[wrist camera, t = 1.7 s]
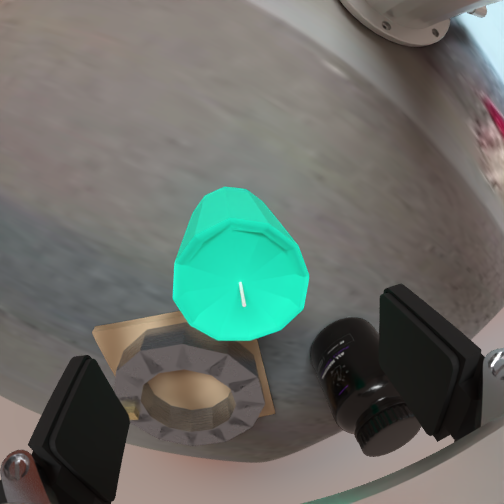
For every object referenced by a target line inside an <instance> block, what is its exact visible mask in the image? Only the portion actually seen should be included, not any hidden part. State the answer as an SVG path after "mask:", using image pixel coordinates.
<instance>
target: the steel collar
mask: <svg viewBox="0 0 504 504" xmlns="http://www.w3.org/2000/svg"><path fill="white" fill-rule="evenodd" d="M183 369H185V370H189V371H194V372H198V373H203V374H208V375H212V376H213V377H214V378H216V379H217V380H219V381H220V382H221V383H223V384H224V385H226V386H227V387H229V388H230V389H231V391H230V393H229V395H228V397H227V398H225V399H224V400H222V401H221V402H219V403H218V404H216V405H214V406H213V407H208V408H202V409H195V410H190V409H185V408H180V407H176V406H171V405H170V404H168V403H167V402H165V401H163V400H162V399H160V398H159V397H157V396H156V395H155V394H154V393H153V391H152V389H151V388H150V386H149V384H148V381H149V380H151V379H152V378H153V377H155V376H156V375H157V374H158V373H164V372H170V371H177V370H183ZM114 392H115V394H116V396H117V397H118V399H119V400H120V402H121V404H122V405H123V407H124V408H125V410H126V411H127V413H128V415H129V418H130V422H131V423H132V424H134V425H135V426H137V427H139V428H140V429H142V430H144V431H145V432H147V433H149V434H151V435H152V436H154V437H156V438H158V439H160V440H165V441H170V442H175V443H180V444H185V445H191V446H196V445H205V444H213V443H220V442H226V441H228V440H230V439H232V438H234V437H236V436H237V435H239V434H241V433H243V432H245V431H246V430H248V429H250V428H252V427H253V425H254V423H255V422H256V420H257V418H258V416H259V414H260V413H261V411H262V409H263V407H264V405H265V400H264V395H263V390H262V385H261V381H260V377H259V373H258V369H257V366H256V362H255V358H254V355H253V354H252V353H251V352H250V351H248V350H247V349H246V348H245V347H243V346H242V345H241V344H240V343H239V342H237V341H218V340H216V339H214V338H212V337H210V336H208V335H207V334H205V333H203V332H201V331H199V330H197V329H196V328H194V327H192V326H190V325H189V324H188V323H186V322H185V323H179V324H174V325H169V326H163V327H158V328H153V329H147V330H146V331H145V332H144V333H143V334H141V335H140V336H139V337H138V338H137V339H136V340H135V341H134V342H133V343H132V344H130V345H129V346H128V347H127V348H126V349H125V350H124V351H123V354H122V357H121V359H120V362H119V364H118V367H117V370H116V377H115V390H114Z"/></svg>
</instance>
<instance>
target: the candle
mask: <svg viewBox="0 0 504 504" xmlns="http://www.w3.org/2000/svg"><path fill="white" fill-rule="evenodd" d="M308 282H309V273H308V270H307V268H306V265H305V262H304V259H303V257H302V254H301V251H300V249H299V246H298V244H297V243H296V242H295V241H294V239H293V238H292V237H291V236H290V234H289V233H288V232H287V231H286V229H285V228H284V227H283V226H282V224H281V223H280V222H279V221H278V219H277V218H276V217H275V216H274V215H273V213H272V212H271V211H270V210H269V208H268V207H267V206H266V205H265V204H264V202H263V201H262V200H260V199H259V198H258V197H256V196H255V195H253V194H252V193H251V192H249V191H248V190H247V189H242V188H232V187H223V188H220V189H218V190H216V191H214V192H212V193H209V194H207V195H205V196H204V197H203V199H202V200H201V202H200V203H199V204H198V206H197V207H196V209H195V210H194V212H193V213H192V216H191V219H190V221H189V224H188V227H187V229H186V232H185V235H184V238H183V240H182V243H181V246H180V249H179V252H178V254H177V257H176V260H175V264H174V282H173V300H174V302H175V303H176V305H177V306H178V308H179V310H180V311H181V313H182V314H183V316H184V317H185V319H186V320H187V322H188V324H189V325H190V326H192V327H194V328H196V329H197V330H199V331H201V332H203V333H205V334H207V335H208V336H210V337H212V338H214V339H216V340H218V341H251V340H254V339H257V338H260V337H263V336H266V335H269V334H271V333H274V332H277V331H280V330H282V329H283V328H284V327H285V326H286V325H287V324H288V323H289V322H290V321H291V320H292V319H294V318H295V317H296V316H297V315H298V314H299V313H300V312H301V311H302V310H303V309H304V305H305V299H306V293H307V288H308Z"/></svg>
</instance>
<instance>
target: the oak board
mask: <svg viewBox="0 0 504 504" xmlns="http://www.w3.org/2000/svg"><path fill="white" fill-rule="evenodd" d="M185 322H186V323H188V322H187V320H186V319H185V317H184V316H183V314H182V313H181V311H177V312H172V313H167V314H162V315H156V316H151V317H146V318H140V319H135V320H130V321H124V322H118V323H113V324H107V325H101V326H95V328H94V330H93V331H92V334H93V336H94V338H95V340H96V342H97V344H98V346H99V347H100V349H101V351H102V353H103V355H104V357H105V359H106V361H107V362H108V364H109V366H110V368H111V370H112V371H113V373H114V375H115V377H116V370H117V367H118V364H119V362H120V359H121V357H122V354H123V351H124V350H125V349H126V348H127V347H128V346H129V345H130V344H132V343H133V342H134V341H135V340H136V339H137V338H138V337H139V336H140V335H141V334H143V333H144V332H145V331H146V330H147V329H153V328H158V327H163V326H169V325H174V324H179V323H185ZM237 342H239V343H240V344H241V345H242V346H243V347H245V348H246V349H247V350H248V351H250V352H251V353H252V354H253V355H254V358H255V362H256V366H257V369H258V373H259V377H260V381H261V385H262V390H263V395H264V400H265V405H264V407H263V409H262V411H261V413H260V414H259V416H258V417H262V416H266V415H271V414H275V410H274V406H273V402H272V398H271V394H270V390H269V386H268V381H267V377H266V373H265V369H264V365H263V361H262V357H261V353H260V349H259V345H258V341H257V339H254V340H251V341H237ZM148 384H149V386H150V388H151V389H152V391H153V393H154V394H155V395H156V396H157V397H159V398H160V399H162V400H163V401H165V402H167V403H168V404H170V405H171V406H176V407H180V408H185V409H190V410H195V409H202V408H208V407H213V406H214V405H216V404H218V403H219V402H221V401H222V400H224V399H225V398H227V397H228V395H229V393H230V391H231V389H230V388H229V387H227V386H226V385H224V384H223V383H221V382H220V381H219V380H217V379H216V378H214V377H213V376H212V375H208V374H203V373H198V372H194V371H189V370H185V369H183V370H177V371H170V372H164V373H158V374H157V375H156V376H155V377H153V378H152V379H151V380H149V381H148Z"/></svg>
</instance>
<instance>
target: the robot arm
mask: <svg viewBox="0 0 504 504" xmlns="http://www.w3.org/2000/svg"><path fill="white" fill-rule="evenodd" d="M340 1H341V3H342V4H343V5H344V6H345V7H346V9H347V10H348V11H349V12H350V13H351V14H352V15H353V16H354V17H355V18H356V19H358V20H359V21H360V22H361V23H362V24H363V25H365V26H366V27H367V28H369V29H370V30H372V31H373V32H375V33H376V34H378V35H380V36H382V37H384V38H386V39H387V40H390V41H392V42H395V43H398V44H400V45H405V46H410V47H423V46H427V45H430V44H433V43H435V42H438V41H439V40H440V39H442V38H443V37H444V36H445V34H446V33H447V31H448V29H449V25H450V18H452V17H455V16H457V15H460V14H463V13H466V12H467V13H469V14H472V15H475V16H477V17H480V18H483V17H485V15H486V13H487V9H486V5H489V4H493V3H496V2H499V1H503V0H340ZM378 360H379V365H380V367H381V369H382V370H383V372H384V373H385V375H386V376H387V377H388V379H389V380H390V382H391V383H392V384H393V386H394V387H395V389H396V390H397V391H398V393H399V394H400V396H401V397H402V399H403V400H404V401H405V403H406V404H407V406H408V407H409V409H410V410H411V412H412V413H413V414H414V416H415V417H416V419H417V420H418V422H419V423H420V425H421V426H422V428H423V429H424V430H425V432H426V433H427V434H428V435H429V436H432V435H433V436H434V437H435V439H436V440H437V442H438V441H440V440H441V439H443V438H445V437H447V436H449V435H451V436H452V437H453V439H455V441H454V443H453V444H451V445H449V446H447V447H445V448H443V449H441V450H440V451H438V452H436V453H434V454H432V455H430V456H428V457H426V458H424V459H422V460H420V461H418V462H416V463H414V464H411V465H409V466H407V467H405V468H403V469H401V470H399V471H396V472H394V473H392V474H389V475H387V476H385V477H382V478H380V479H377V480H375V481H372V482H369V483H367V484H364V485H361V486H359V487H356V488H353V489H350V490H347V491H344V492H341V493H338V494H335V495H332V496H328V497H325V498H321V499H317V500H314V501H310V502H306V503H303V504H504V348H502V349H496V350H493V351H491V352H490V353H488V354H487V355H486V357H484V356H483V355H482V354H481V349H480V348H479V347H478V346H476V345H475V344H474V343H473V342H472V341H471V340H470V339H468V338H467V337H466V336H465V335H464V334H463V333H462V332H460V331H459V330H458V329H457V328H456V327H454V326H453V325H452V324H451V323H450V322H449V321H447V320H446V319H445V318H444V317H443V316H441V315H440V314H439V313H438V312H437V311H435V310H434V309H433V308H432V307H430V306H429V305H428V304H427V303H426V302H424V301H423V300H422V299H421V298H419V297H418V296H417V295H416V294H414V293H413V292H412V291H411V290H409V289H408V288H407V287H405V286H404V285H403V284H398V285H395V286H392V287H389V288H386V289H385V290H384V294H382V295H381V296H380V326H379V355H378ZM129 424H130V418H129V415H128V413H127V411H126V410H125V408H124V407H123V405H122V404H121V402H120V400H119V399H118V397H117V396H116V394H115V392H114V391H113V389H112V387H111V386H110V384H109V382H108V381H107V379H106V377H105V375H104V374H103V372H102V370H101V368H100V367H99V365H98V363H97V361H96V360H95V359H92V358H91V357H90V356H88V355H84V356H76V357H73V358H72V359H71V360H70V362H69V364H68V366H67V368H66V369H65V371H64V373H63V375H62V377H61V379H60V380H59V382H58V384H57V386H56V388H55V390H54V392H53V394H52V396H51V398H50V399H49V401H48V403H47V405H46V407H45V409H44V411H43V413H42V416H41V418H40V420H39V422H38V424H37V426H36V428H35V430H34V432H33V435H32V437H31V439H30V441H29V443H28V445H29V447H30V448H31V449H32V450H33V453H32V455H31V454H30V453H29V452H28V451H25V450H16V451H14V452H12V453H10V454H9V455H8V456H7V457H6V458H5V459H4V461H3V462H2V465H1V468H0V474H1V480H0V504H111V501H114V499H115V496H116V490H117V484H118V478H119V473H120V468H121V462H122V457H123V452H124V447H125V443H126V438H127V433H128V429H129Z"/></svg>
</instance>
